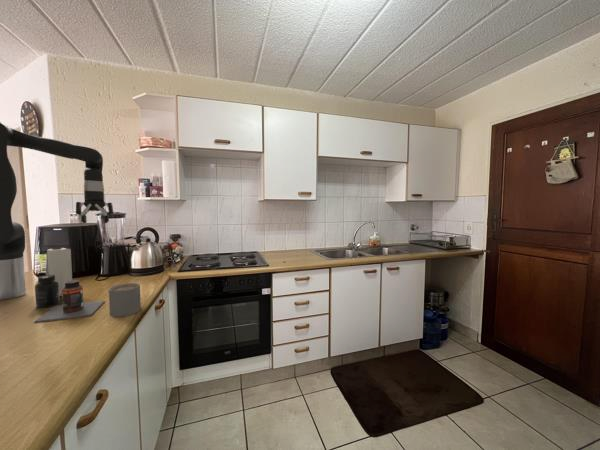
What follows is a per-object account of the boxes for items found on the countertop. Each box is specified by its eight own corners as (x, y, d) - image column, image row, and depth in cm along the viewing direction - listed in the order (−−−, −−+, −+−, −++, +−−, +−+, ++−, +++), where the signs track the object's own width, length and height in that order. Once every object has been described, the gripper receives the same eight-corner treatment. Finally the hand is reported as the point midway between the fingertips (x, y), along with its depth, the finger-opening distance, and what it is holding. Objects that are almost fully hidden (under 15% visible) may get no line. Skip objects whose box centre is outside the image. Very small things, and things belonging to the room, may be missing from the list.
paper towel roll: (47, 295, 110) (44, 249, 108) (64, 291, 115) (61, 247, 114) (56, 298, 107) (53, 250, 105) (72, 294, 113) (70, 248, 111)
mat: (34, 322, 86) (34, 321, 86) (55, 307, 99) (55, 305, 98) (91, 315, 92) (91, 314, 92) (104, 302, 105) (104, 300, 105)
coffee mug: (135, 315, 93) (134, 289, 92) (104, 318, 90) (103, 291, 89) (146, 302, 106) (146, 279, 105) (120, 304, 103) (119, 280, 102)
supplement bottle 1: (63, 303, 103) (62, 275, 102) (42, 309, 96) (40, 279, 95) (53, 300, 105) (52, 273, 104) (32, 306, 99) (30, 277, 98)
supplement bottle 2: (87, 307, 98) (86, 279, 97) (72, 313, 92) (71, 284, 91) (74, 306, 99) (73, 278, 98) (58, 312, 93) (56, 283, 92)
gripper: (72, 189, 115) (73, 223, 116) (109, 190, 120) (110, 223, 121) (79, 190, 122) (80, 222, 123) (114, 191, 127) (115, 222, 128)
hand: (95, 223), depth 122 cm, fingers open, 8 cm apart
